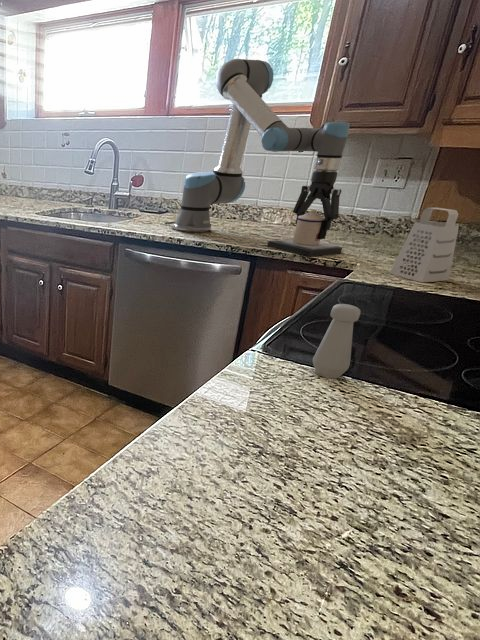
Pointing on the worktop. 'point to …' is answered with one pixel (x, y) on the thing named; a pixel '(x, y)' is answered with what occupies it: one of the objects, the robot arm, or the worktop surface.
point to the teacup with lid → (308, 229)
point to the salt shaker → (336, 342)
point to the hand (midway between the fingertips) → (309, 236)
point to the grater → (428, 249)
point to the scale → (305, 248)
